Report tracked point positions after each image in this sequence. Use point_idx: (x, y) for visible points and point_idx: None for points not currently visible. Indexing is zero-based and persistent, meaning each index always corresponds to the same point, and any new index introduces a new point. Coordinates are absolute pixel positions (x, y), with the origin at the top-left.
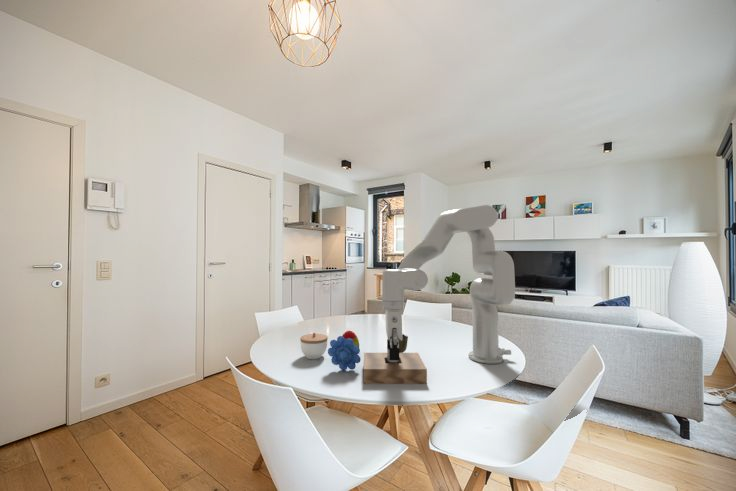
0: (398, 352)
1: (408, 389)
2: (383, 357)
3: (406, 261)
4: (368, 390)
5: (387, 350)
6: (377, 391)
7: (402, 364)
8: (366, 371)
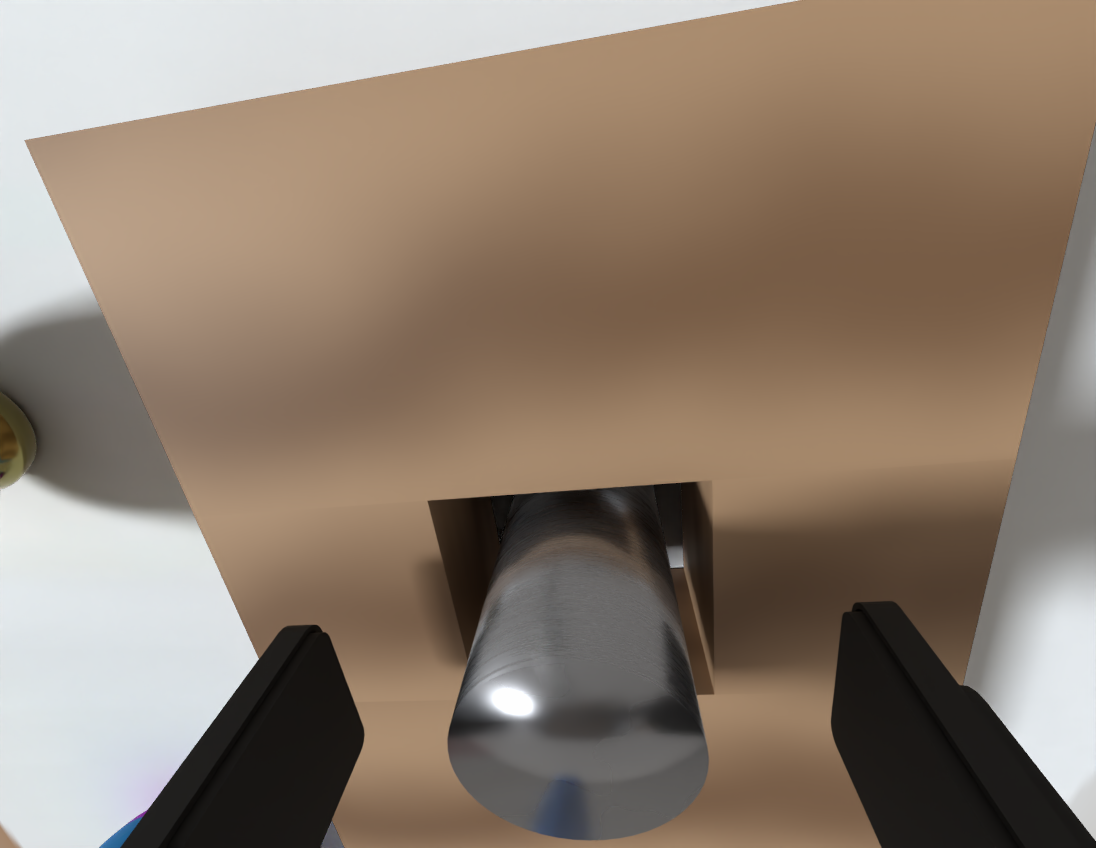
0: (995, 756)
1: (1068, 330)
2: None
3: None
4: (999, 694)
5: (608, 838)
6: (1040, 630)
7: (774, 476)
8: None
